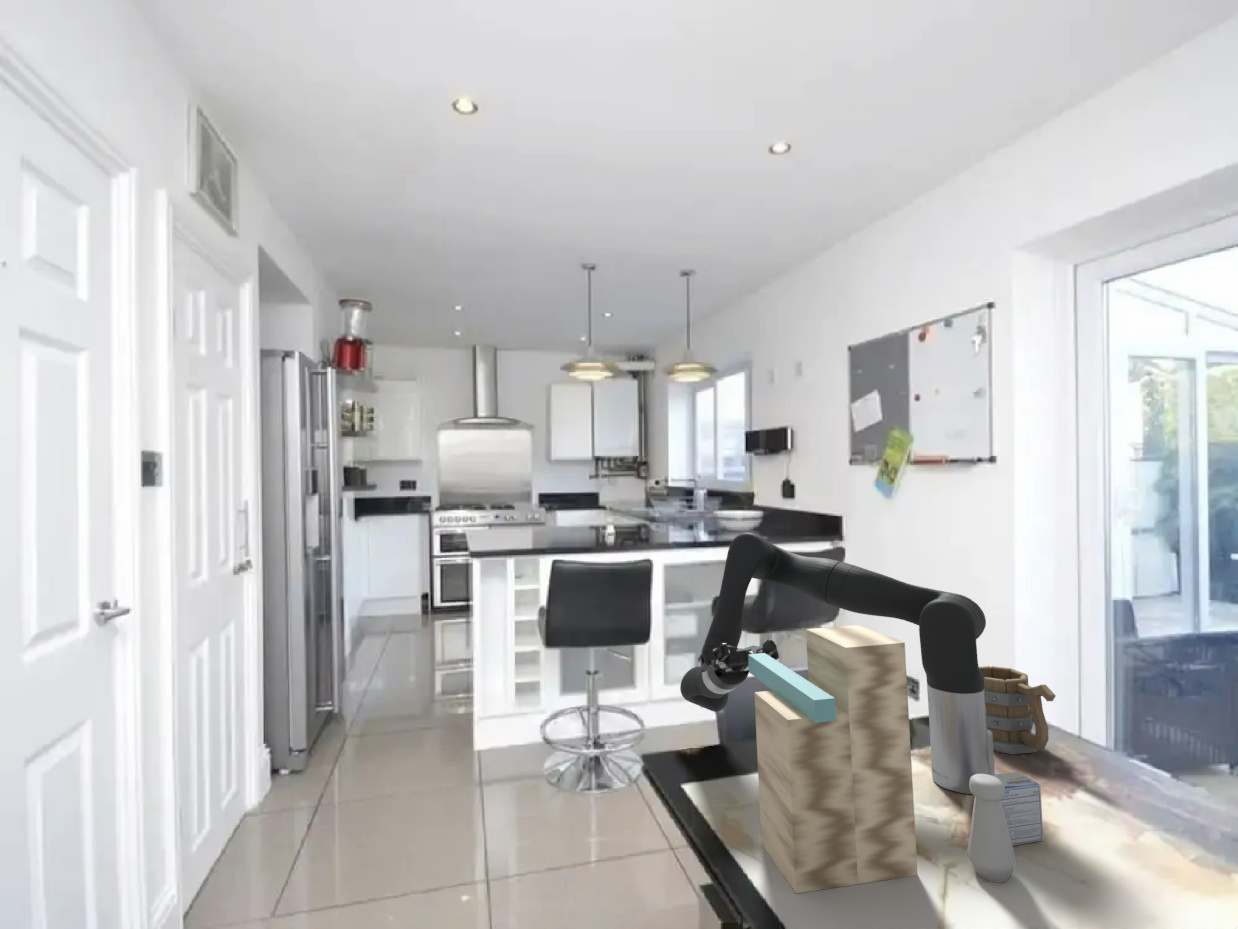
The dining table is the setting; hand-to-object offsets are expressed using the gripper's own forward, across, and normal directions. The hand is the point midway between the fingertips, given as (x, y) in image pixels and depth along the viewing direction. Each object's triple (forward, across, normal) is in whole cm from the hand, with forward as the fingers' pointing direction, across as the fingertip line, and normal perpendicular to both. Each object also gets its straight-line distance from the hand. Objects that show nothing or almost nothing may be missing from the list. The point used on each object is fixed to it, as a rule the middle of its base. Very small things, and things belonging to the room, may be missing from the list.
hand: (749, 646), depth 111 cm
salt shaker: (+10, +23, +37) cm, 45 cm away
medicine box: (+4, +32, +33) cm, 47 cm away
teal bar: (+11, 0, +10) cm, 15 cm away
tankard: (-19, +58, +20) cm, 64 cm away
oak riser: (+4, +4, +32) cm, 33 cm away
